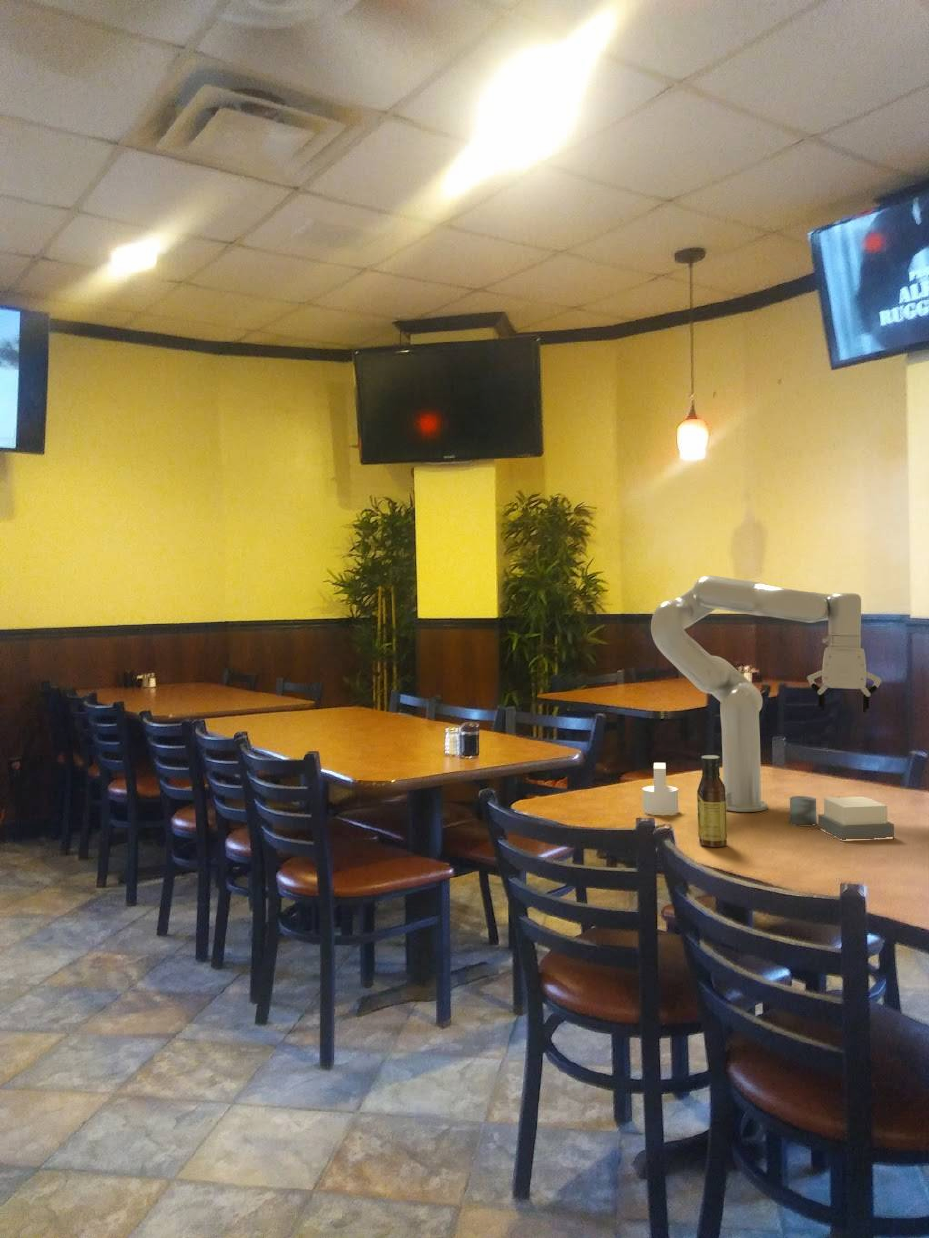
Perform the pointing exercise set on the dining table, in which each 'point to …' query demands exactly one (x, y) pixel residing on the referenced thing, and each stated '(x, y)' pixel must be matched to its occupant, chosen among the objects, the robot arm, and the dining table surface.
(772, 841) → the dining table surface
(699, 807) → the sauce bottle
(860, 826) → the tower bottom
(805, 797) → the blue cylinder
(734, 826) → the dining table surface
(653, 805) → the cylinder with rectangular tab
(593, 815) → the dining table surface
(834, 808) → the tower top
